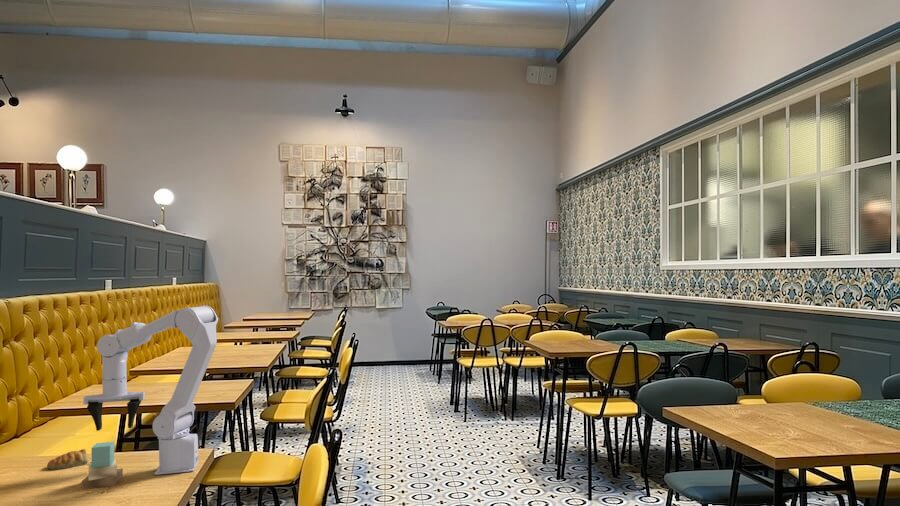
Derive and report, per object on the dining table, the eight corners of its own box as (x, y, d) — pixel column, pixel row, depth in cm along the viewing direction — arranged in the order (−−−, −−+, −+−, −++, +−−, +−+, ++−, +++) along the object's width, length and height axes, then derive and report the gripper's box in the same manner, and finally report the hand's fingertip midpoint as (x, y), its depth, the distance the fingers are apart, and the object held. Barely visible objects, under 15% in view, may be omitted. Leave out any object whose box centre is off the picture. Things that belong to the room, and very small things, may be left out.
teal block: (114, 461, 148) (114, 441, 148) (109, 466, 144) (109, 446, 144) (96, 462, 147) (96, 443, 147) (91, 468, 143) (91, 447, 143)
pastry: (49, 473, 154) (49, 459, 154) (45, 467, 159) (44, 453, 159) (90, 464, 160) (89, 450, 160) (84, 459, 165) (84, 445, 165)
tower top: (116, 468, 150) (116, 459, 150) (116, 475, 145) (116, 465, 145) (88, 473, 147) (88, 463, 147) (88, 480, 141) (88, 470, 142)
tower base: (122, 478, 150) (122, 468, 150) (113, 488, 143) (113, 477, 143) (92, 481, 148) (92, 471, 148) (82, 491, 141) (82, 480, 141)
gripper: (147, 373, 163) (147, 422, 163) (89, 377, 159) (89, 426, 159) (141, 378, 156) (141, 428, 156) (80, 382, 153) (80, 433, 152)
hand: (114, 428), depth 157 cm, fingers open, 7 cm apart
